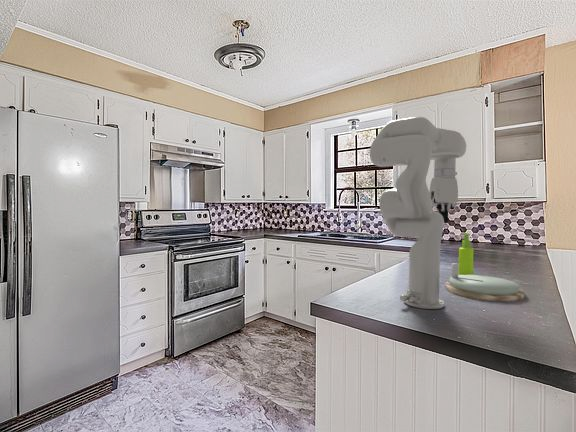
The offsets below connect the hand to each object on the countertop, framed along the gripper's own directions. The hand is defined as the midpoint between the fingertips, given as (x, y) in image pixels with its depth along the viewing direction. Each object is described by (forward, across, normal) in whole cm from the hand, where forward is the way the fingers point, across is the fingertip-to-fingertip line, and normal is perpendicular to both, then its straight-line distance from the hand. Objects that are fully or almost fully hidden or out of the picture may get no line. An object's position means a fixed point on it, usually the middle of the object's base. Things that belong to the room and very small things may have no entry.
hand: (443, 221), depth 126 cm
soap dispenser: (+26, -26, -17) cm, 41 cm away
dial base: (+27, -14, +6) cm, 31 cm away
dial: (+25, -14, +6) cm, 29 cm away
